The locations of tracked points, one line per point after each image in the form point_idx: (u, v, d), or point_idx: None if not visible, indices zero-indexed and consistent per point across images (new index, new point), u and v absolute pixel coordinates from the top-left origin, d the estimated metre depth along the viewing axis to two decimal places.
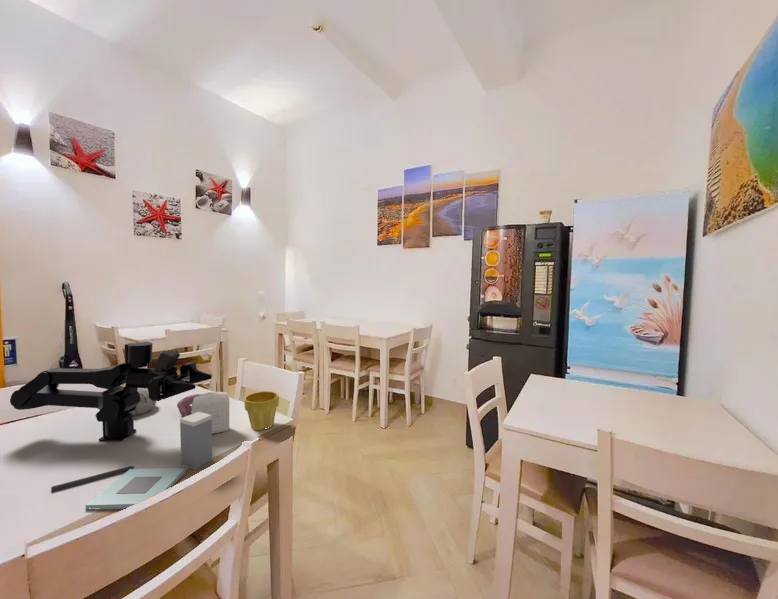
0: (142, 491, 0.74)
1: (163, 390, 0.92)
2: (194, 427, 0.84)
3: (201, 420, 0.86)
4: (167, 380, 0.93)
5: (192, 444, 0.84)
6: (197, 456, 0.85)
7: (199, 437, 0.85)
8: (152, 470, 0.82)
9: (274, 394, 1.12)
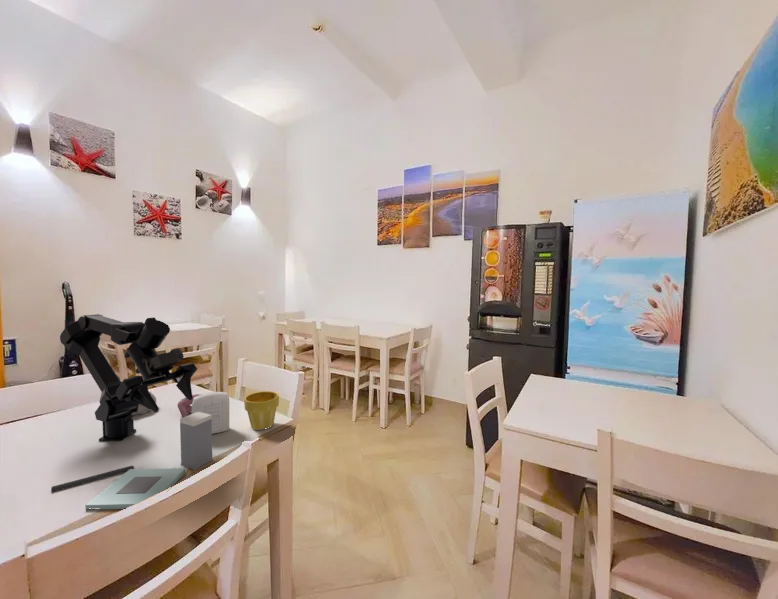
0: (142, 491, 0.74)
1: (129, 395, 0.84)
2: (194, 427, 0.84)
3: (201, 420, 0.86)
4: (139, 389, 0.84)
5: (192, 444, 0.84)
6: (197, 456, 0.85)
7: (199, 437, 0.85)
8: (152, 470, 0.82)
9: (274, 394, 1.12)
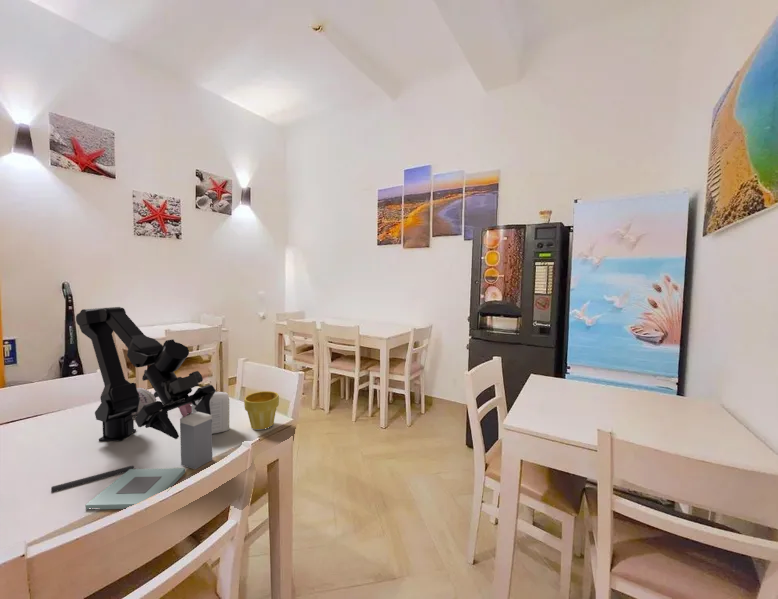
0: (142, 491, 0.74)
1: (149, 421, 0.82)
2: (194, 427, 0.84)
3: (201, 420, 0.86)
4: (159, 415, 0.82)
5: (192, 444, 0.84)
6: (197, 456, 0.85)
7: (199, 437, 0.85)
8: (152, 470, 0.82)
9: (274, 394, 1.12)
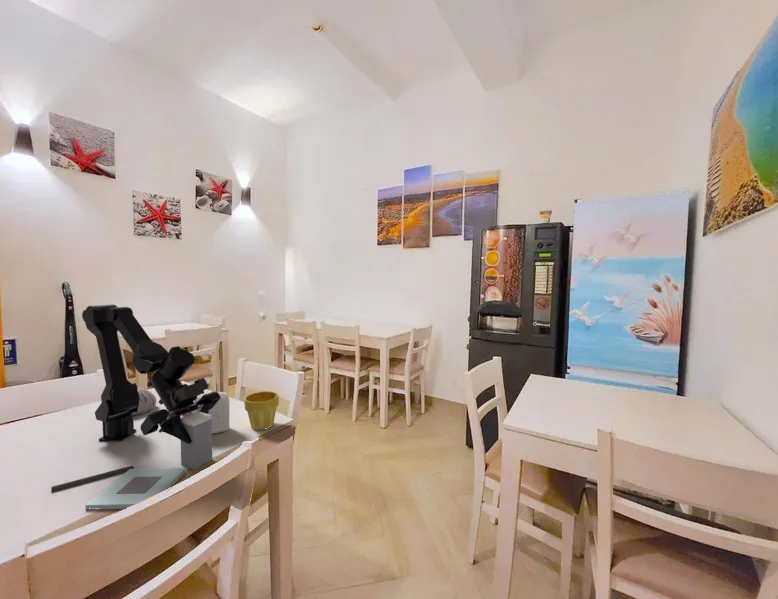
0: (142, 491, 0.74)
1: (163, 427, 0.83)
2: (194, 427, 0.84)
3: (201, 420, 0.86)
4: (172, 420, 0.83)
5: (192, 444, 0.84)
6: (197, 456, 0.85)
7: (199, 437, 0.85)
8: (152, 470, 0.82)
9: (274, 394, 1.12)
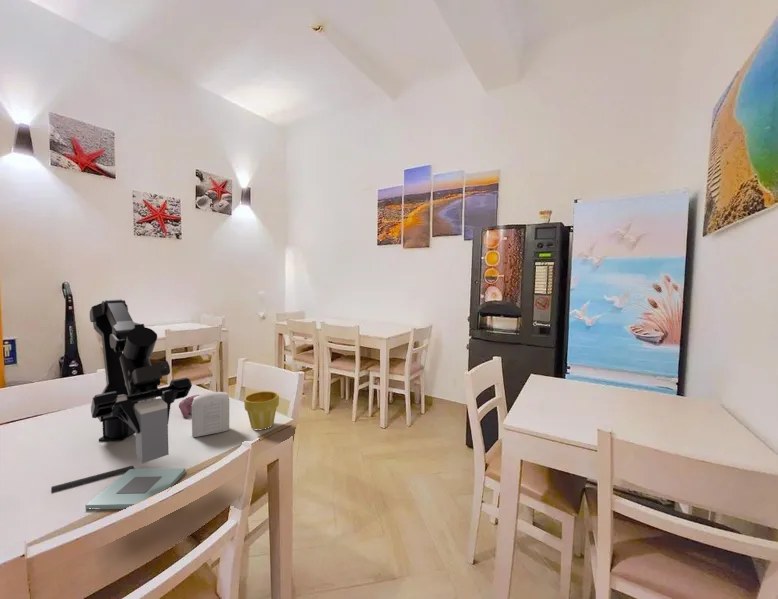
0: (142, 491, 0.74)
1: (113, 411, 0.75)
2: (141, 416, 0.74)
3: (152, 408, 0.75)
4: (121, 405, 0.74)
5: (141, 434, 0.74)
6: (146, 449, 0.75)
7: (149, 428, 0.75)
8: (152, 470, 0.82)
9: (274, 394, 1.12)
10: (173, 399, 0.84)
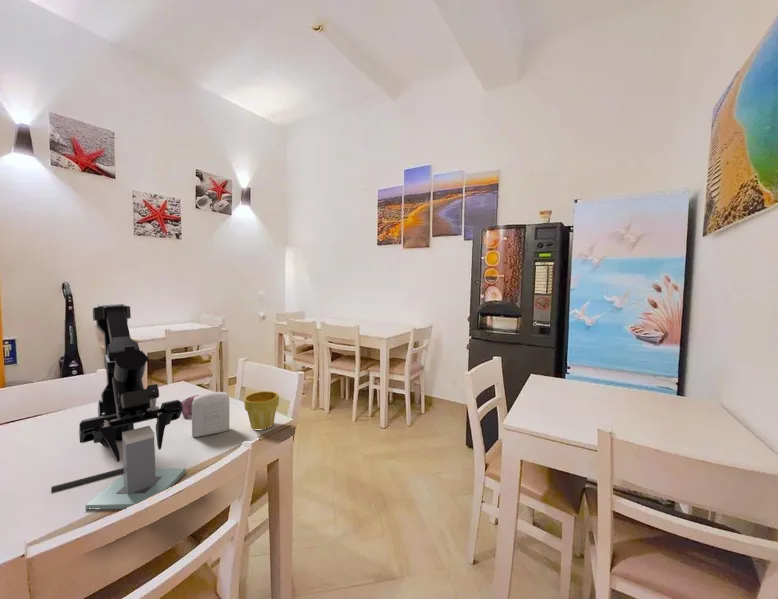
0: (142, 491, 0.74)
1: (94, 437, 0.73)
2: (126, 446, 0.72)
3: (138, 438, 0.73)
4: (101, 432, 0.72)
5: (126, 465, 0.73)
6: (131, 479, 0.73)
7: (135, 458, 0.73)
8: None
9: (274, 394, 1.12)
10: (169, 421, 0.83)
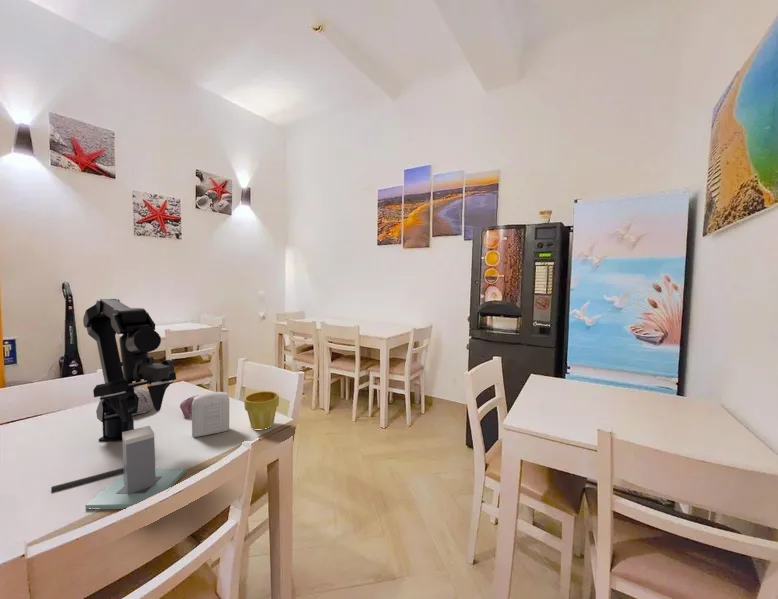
0: (142, 491, 0.74)
1: (107, 397, 0.81)
2: (126, 446, 0.72)
3: (138, 438, 0.73)
4: (120, 396, 0.81)
5: (126, 465, 0.73)
6: (131, 479, 0.73)
7: (135, 458, 0.73)
8: None
9: (274, 394, 1.12)
10: None
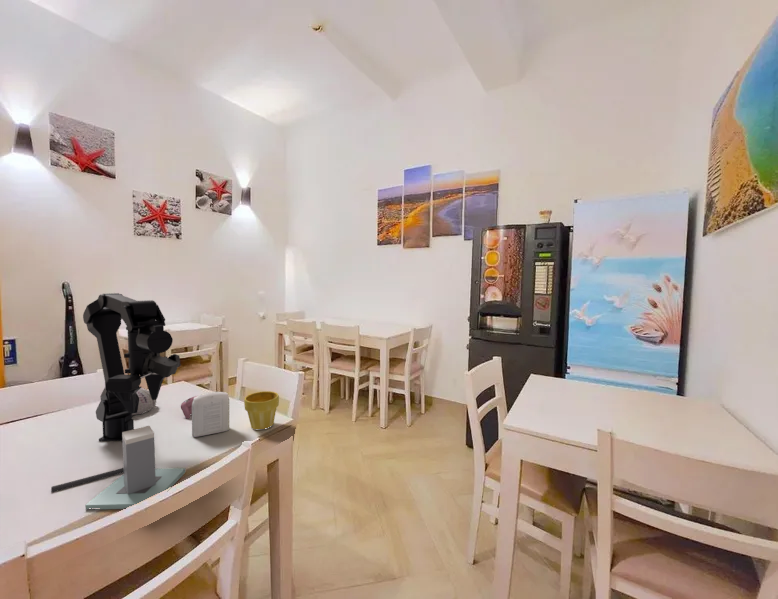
0: (142, 491, 0.74)
1: (119, 391, 0.82)
2: (126, 446, 0.72)
3: (138, 438, 0.73)
4: None
5: (126, 465, 0.73)
6: (131, 479, 0.73)
7: (135, 458, 0.73)
8: None
9: (274, 394, 1.12)
10: None
